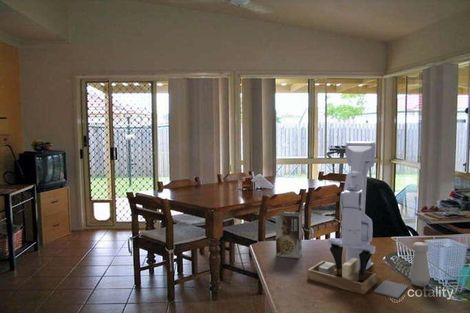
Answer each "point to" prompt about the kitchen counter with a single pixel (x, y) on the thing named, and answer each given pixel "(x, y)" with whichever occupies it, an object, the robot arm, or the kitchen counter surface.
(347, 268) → the cream flat block
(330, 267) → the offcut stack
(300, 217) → the coffee box
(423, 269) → the salt shaker
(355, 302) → the kitchen counter surface
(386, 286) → the rubber mat
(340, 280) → the tray
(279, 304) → the kitchen counter surface
